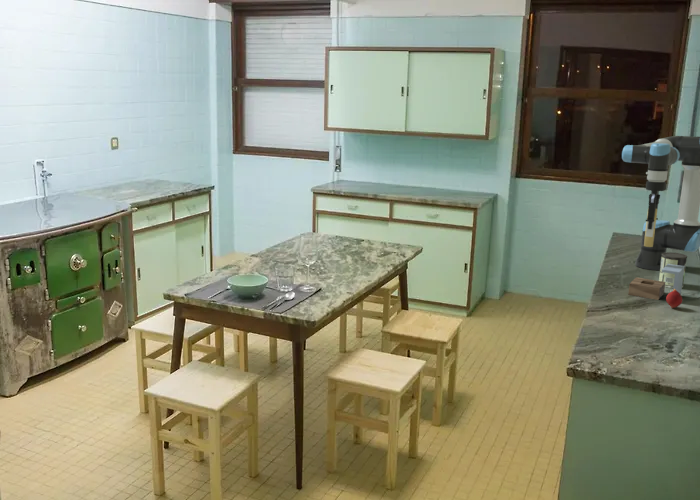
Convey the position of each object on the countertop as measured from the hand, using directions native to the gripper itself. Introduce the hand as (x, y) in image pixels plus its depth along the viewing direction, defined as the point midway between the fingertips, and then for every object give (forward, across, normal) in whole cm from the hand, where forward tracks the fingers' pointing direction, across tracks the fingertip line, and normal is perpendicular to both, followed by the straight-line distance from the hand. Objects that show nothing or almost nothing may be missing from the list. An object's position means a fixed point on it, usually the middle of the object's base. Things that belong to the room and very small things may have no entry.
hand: (649, 235), depth 279 cm
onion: (+26, +16, +13) cm, 33 cm away
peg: (+5, 0, 0) cm, 5 cm away
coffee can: (+25, -19, +9) cm, 33 cm away
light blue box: (+25, +2, +11) cm, 28 cm away
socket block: (+25, +1, +2) cm, 25 cm away
